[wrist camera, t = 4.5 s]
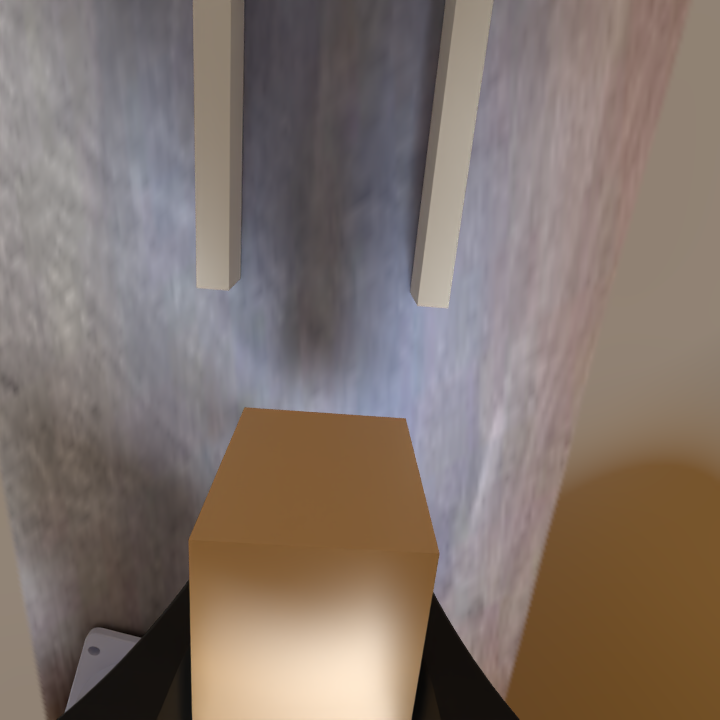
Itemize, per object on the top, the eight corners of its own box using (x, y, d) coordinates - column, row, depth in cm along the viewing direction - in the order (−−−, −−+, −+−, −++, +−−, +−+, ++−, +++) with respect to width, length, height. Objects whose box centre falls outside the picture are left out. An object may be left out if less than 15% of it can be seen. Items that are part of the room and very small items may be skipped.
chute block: (374, 659, 16) (386, 864, 11) (239, 653, 16) (195, 860, 11) (405, 418, 13) (439, 553, 9) (244, 407, 13) (188, 539, 8)
